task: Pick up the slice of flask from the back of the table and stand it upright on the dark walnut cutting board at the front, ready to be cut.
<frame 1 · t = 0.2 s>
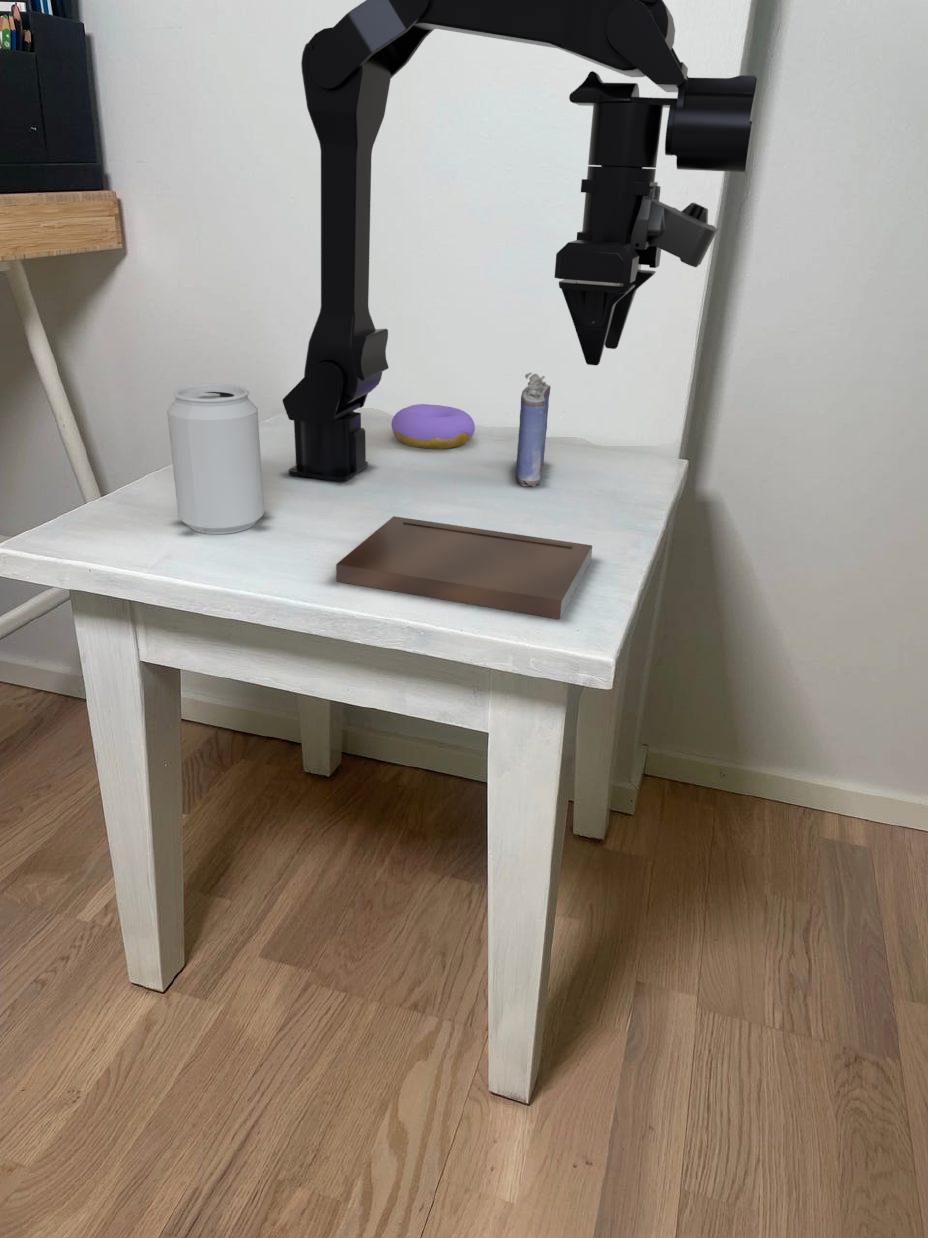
hand: (602, 356, 85), 14 cm above the table, tool pointing down, fingers open, 9 cm apart
flask: (529, 475, 100), on the table
can: (222, 524, 83), on the table
donut: (432, 442, 110), on the table
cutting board: (468, 571, 75), on the table
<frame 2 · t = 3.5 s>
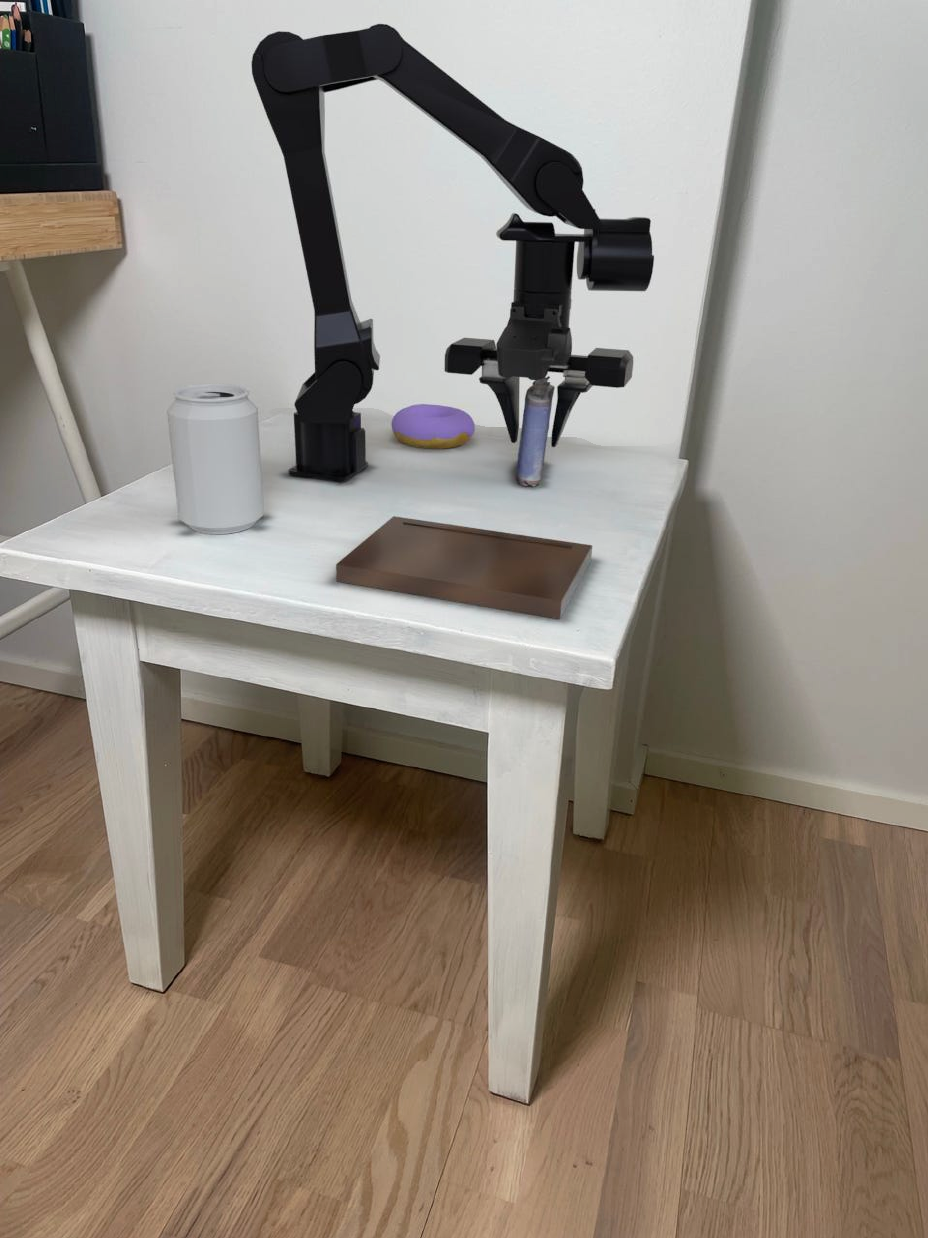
hand: (533, 444, 98), 3 cm above the table, tool pointing down, fingers closed on flask, 4 cm apart
flask: (529, 475, 100), on the table, touching gripper
everything else where it was.
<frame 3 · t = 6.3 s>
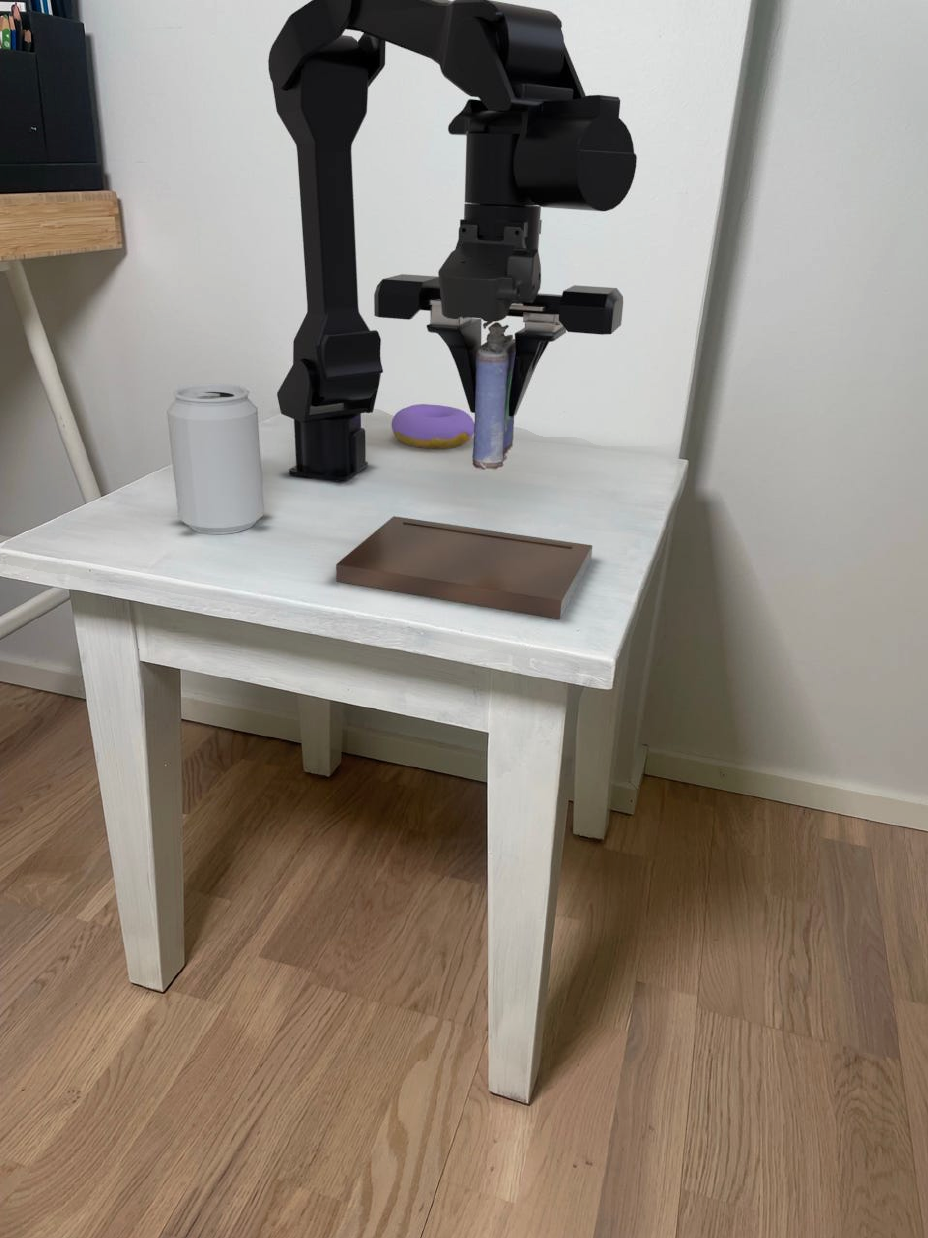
hand: (493, 413, 75), 12 cm above the table, tool pointing down, fingers closed on flask, 3 cm apart
flask: (492, 458, 77), point 8 cm above the table, touching gripper
everything else where it was.
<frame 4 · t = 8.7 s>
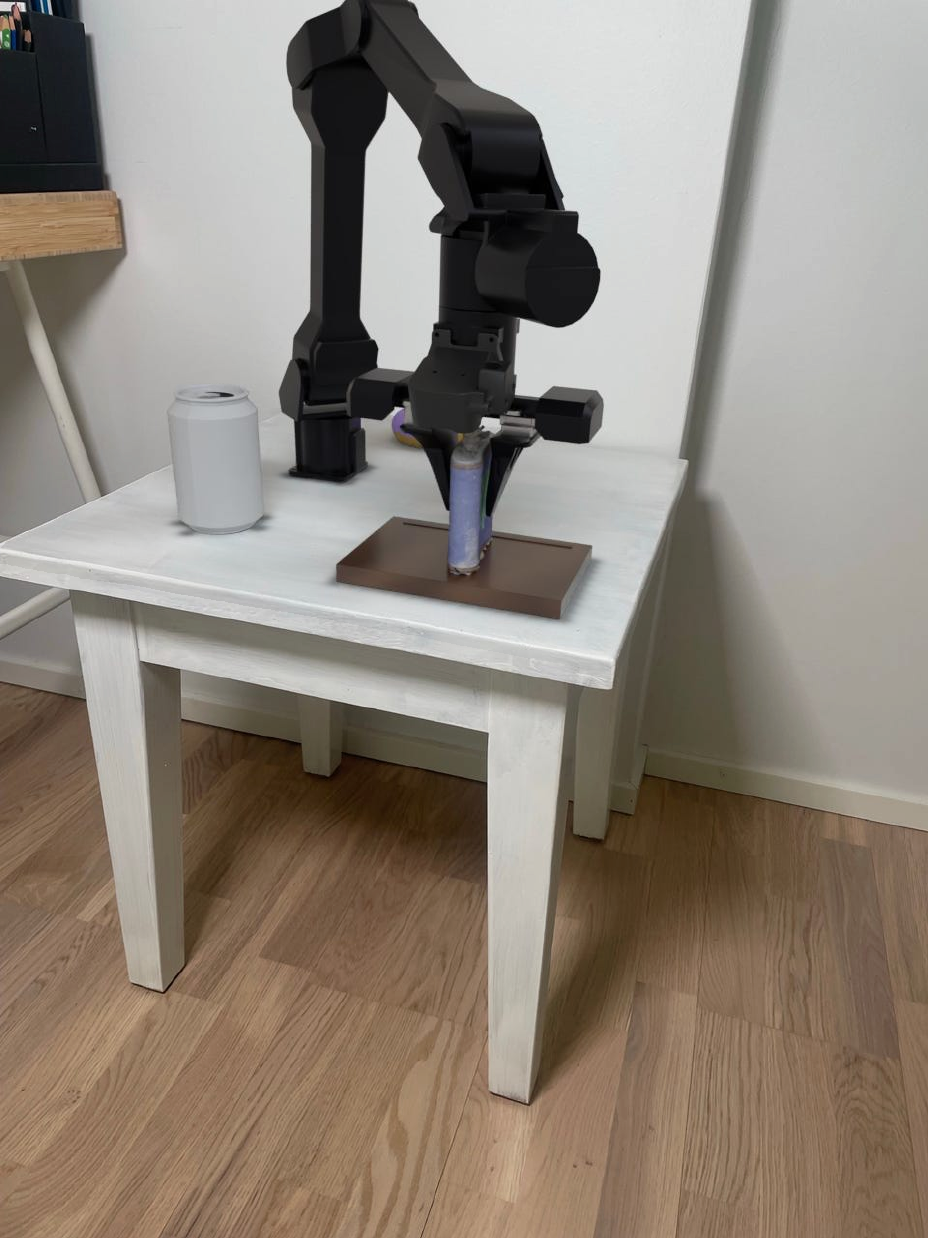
hand: (470, 512, 73), 5 cm above the table, tool pointing down, fingers closed on flask, 3 cm apart
flask: (469, 555, 75), point 1 cm above the table, touching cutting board, gripper
everything else where it was.
when the fingers open (5 cm above the table, at t = 8.7 s): flask stays where it is, resting on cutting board.
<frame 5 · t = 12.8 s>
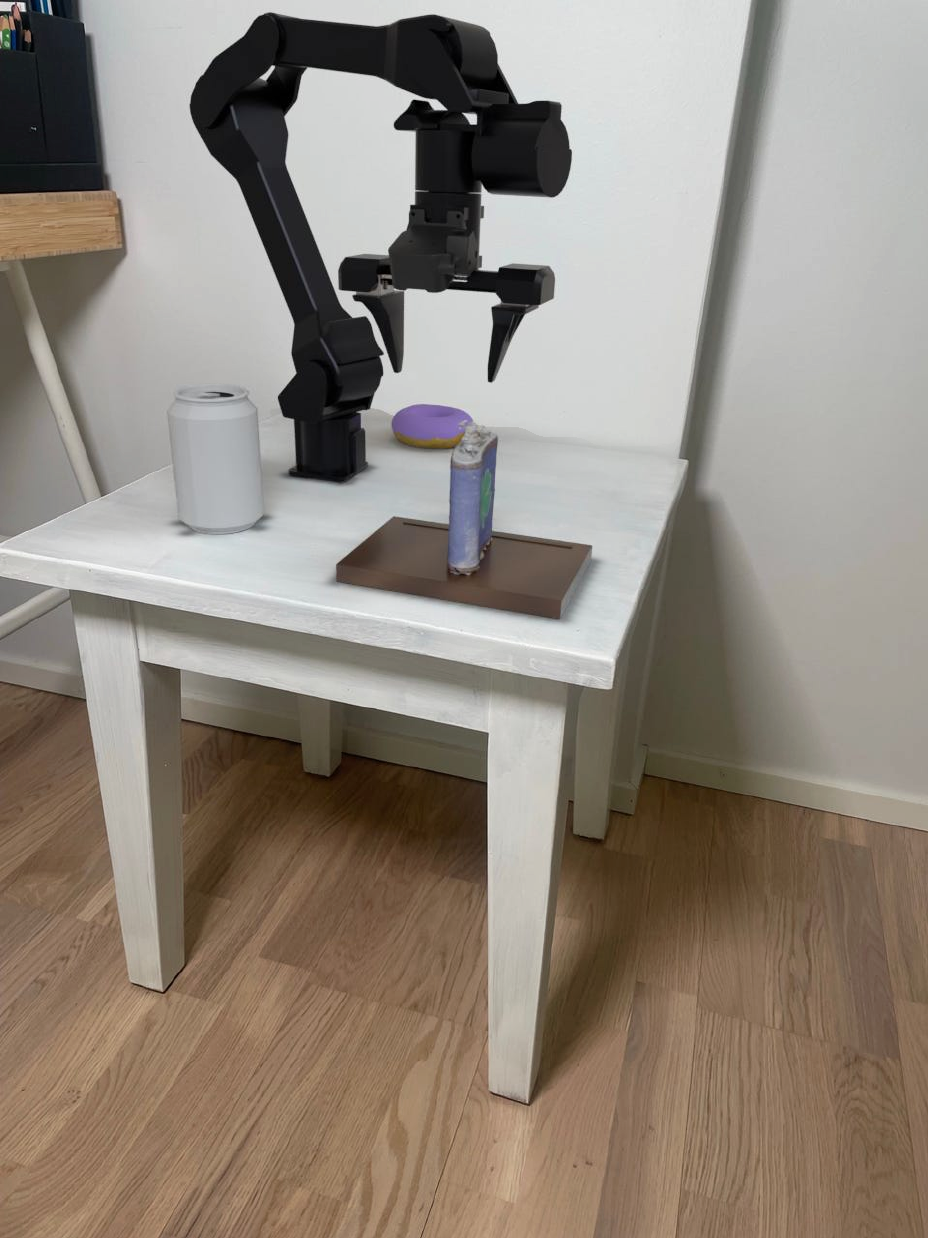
hand: (443, 376, 86), 12 cm above the table, tool pointing down, fingers open, 9 cm apart
flask: (469, 555, 75), point 1 cm above the table, touching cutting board
everything else where it was.
at the end: flask inside the target area on the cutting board (0.1 cm from its centre), point 1.4 cm above the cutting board's base; flask tilted 2°; the gripper is holding nothing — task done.
